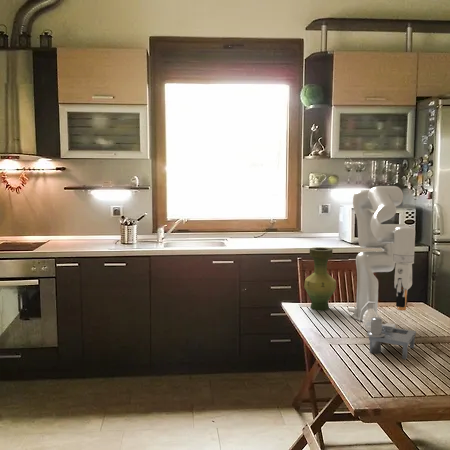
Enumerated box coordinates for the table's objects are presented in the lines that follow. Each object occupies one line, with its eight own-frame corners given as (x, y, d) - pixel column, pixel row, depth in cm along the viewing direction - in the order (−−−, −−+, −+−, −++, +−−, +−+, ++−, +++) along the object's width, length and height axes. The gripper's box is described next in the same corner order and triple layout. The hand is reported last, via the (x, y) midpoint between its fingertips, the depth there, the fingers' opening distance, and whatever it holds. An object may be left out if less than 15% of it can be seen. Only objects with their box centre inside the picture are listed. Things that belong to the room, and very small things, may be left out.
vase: (310, 302, 262) (311, 245, 258) (340, 306, 254) (341, 248, 250) (298, 309, 248) (299, 250, 244) (329, 314, 240) (331, 252, 236)
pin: (394, 309, 192) (395, 284, 191) (397, 307, 196) (398, 282, 195) (406, 311, 190) (407, 285, 189) (408, 309, 194) (409, 283, 193)
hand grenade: (360, 333, 212) (361, 303, 210) (357, 328, 218) (358, 299, 216) (379, 334, 211) (380, 304, 209) (375, 329, 217) (377, 300, 216)
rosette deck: (357, 351, 191) (358, 318, 189) (369, 338, 205) (370, 308, 203) (406, 360, 181) (407, 326, 180) (415, 347, 195) (416, 314, 194)
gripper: (409, 263, 182) (407, 312, 184) (417, 256, 196) (415, 302, 198) (388, 261, 186) (386, 309, 188) (398, 254, 200) (396, 299, 202)
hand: (401, 305), depth 193 cm, fingers closed on pin, 3 cm apart
